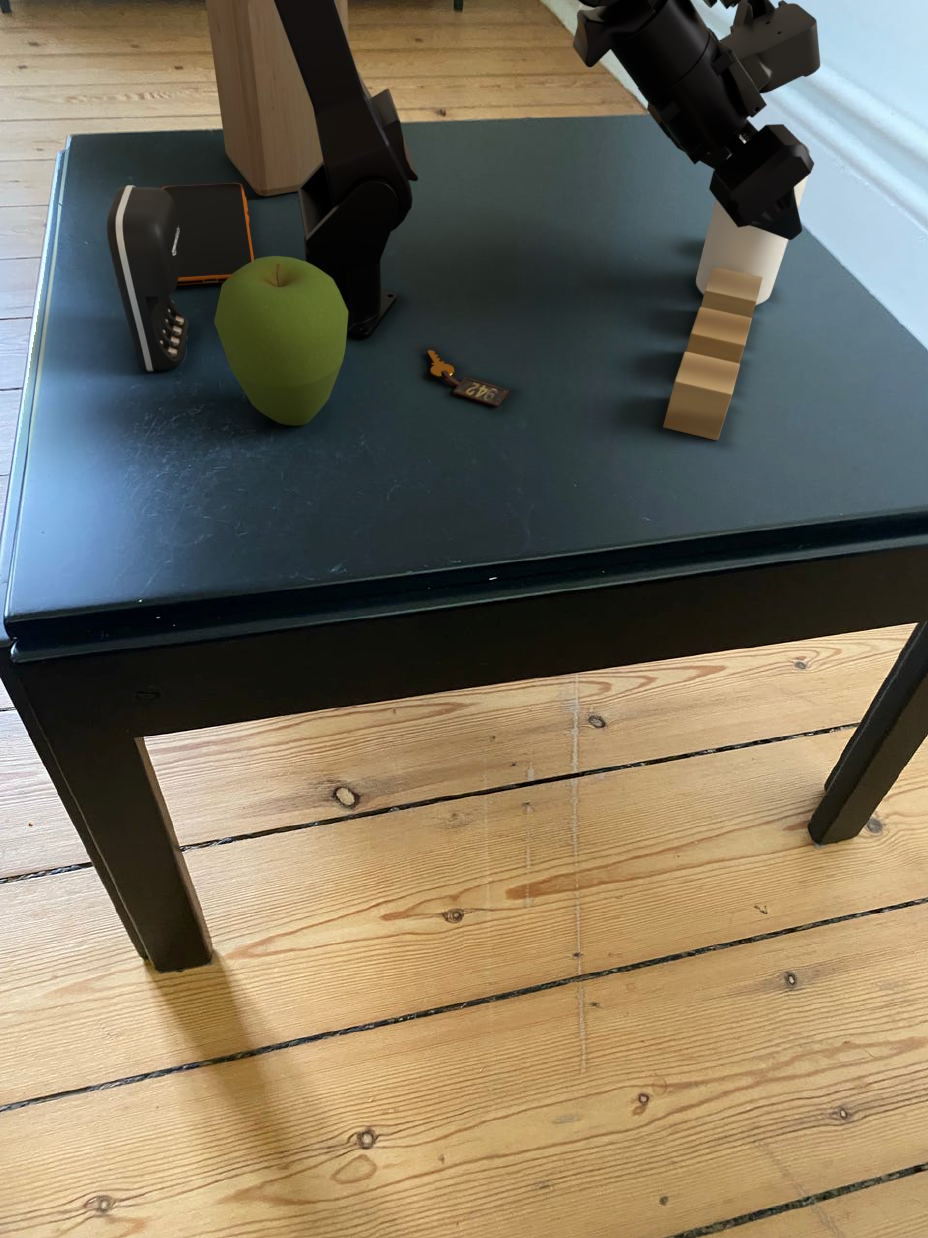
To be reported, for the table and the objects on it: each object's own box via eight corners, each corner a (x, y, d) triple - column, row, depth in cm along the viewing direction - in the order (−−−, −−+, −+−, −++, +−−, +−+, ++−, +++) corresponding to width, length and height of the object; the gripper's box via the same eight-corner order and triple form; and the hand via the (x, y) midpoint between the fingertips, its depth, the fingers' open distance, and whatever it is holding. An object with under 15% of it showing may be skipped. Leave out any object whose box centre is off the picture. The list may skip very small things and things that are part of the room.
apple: (218, 393, 69) (191, 240, 60) (329, 371, 71) (320, 221, 63) (250, 466, 64) (226, 311, 55) (369, 439, 66) (364, 286, 57)
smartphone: (164, 288, 77) (162, 278, 77) (161, 194, 88) (159, 185, 87) (258, 281, 79) (257, 272, 78) (244, 190, 89) (243, 181, 89)
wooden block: (224, 158, 94) (190, -89, 79) (319, 143, 97) (304, -97, 82) (258, 202, 88) (228, -55, 73) (357, 184, 92) (349, -65, 76)
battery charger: (191, 375, 70) (162, 225, 61) (138, 375, 70) (101, 224, 61) (201, 323, 75) (175, 176, 66) (151, 323, 74) (119, 175, 66)
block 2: (730, 391, 72) (745, 344, 69) (678, 379, 73) (690, 332, 70) (738, 363, 75) (752, 317, 72) (687, 351, 75) (699, 305, 72)
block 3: (717, 441, 68) (732, 394, 65) (662, 427, 69) (674, 380, 66) (725, 409, 71) (740, 363, 68) (672, 397, 71) (685, 350, 68)
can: (761, 272, 84) (804, 131, 75) (777, 312, 80) (825, 167, 71) (688, 269, 84) (723, 127, 75) (701, 308, 80) (739, 163, 71)
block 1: (742, 346, 76) (756, 301, 73) (693, 335, 77) (705, 290, 74) (749, 321, 79) (762, 276, 76) (701, 310, 80) (713, 266, 77)
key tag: (514, 394, 70) (515, 388, 70) (489, 413, 69) (490, 406, 68) (430, 351, 73) (430, 344, 73) (404, 367, 72) (404, 360, 71)
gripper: (833, 10, 57) (922, 186, 68) (721, -76, 69) (811, 84, 79) (681, 149, 62) (786, 294, 72) (600, 45, 74) (700, 182, 84)
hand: (772, 207), depth 77 cm, fingers open, 9 cm apart
